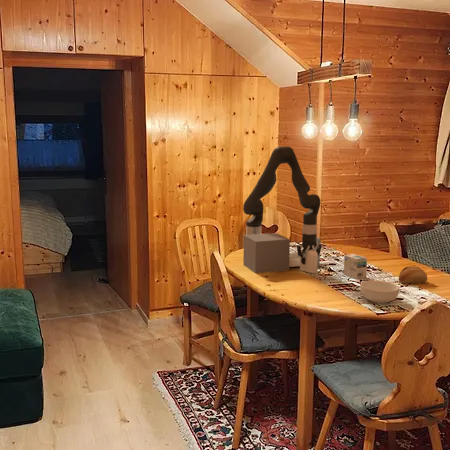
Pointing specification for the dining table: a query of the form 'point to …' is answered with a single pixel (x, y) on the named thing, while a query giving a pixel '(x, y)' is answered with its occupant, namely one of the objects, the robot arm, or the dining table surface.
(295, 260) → the drawer tray
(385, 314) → the dining table surface
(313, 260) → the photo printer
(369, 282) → the cereal bowl
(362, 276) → the light bulb box
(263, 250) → the cabinet
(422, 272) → the bread roll
